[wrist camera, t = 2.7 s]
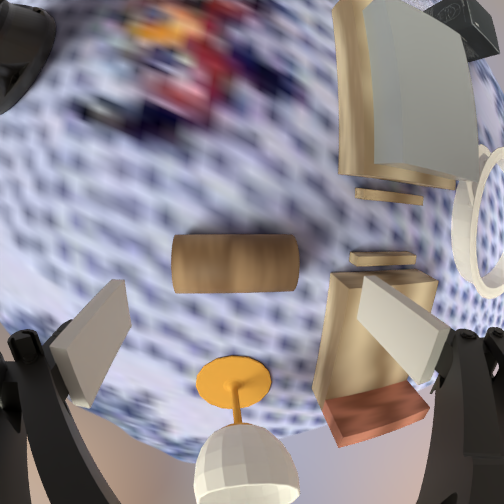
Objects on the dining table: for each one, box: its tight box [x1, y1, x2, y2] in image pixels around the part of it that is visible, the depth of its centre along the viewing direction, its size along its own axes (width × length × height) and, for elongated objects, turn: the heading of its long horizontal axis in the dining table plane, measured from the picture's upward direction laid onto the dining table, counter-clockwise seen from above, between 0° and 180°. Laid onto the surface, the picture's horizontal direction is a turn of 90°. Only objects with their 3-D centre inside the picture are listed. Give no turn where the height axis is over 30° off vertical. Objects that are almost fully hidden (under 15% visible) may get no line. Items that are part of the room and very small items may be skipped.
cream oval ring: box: [451, 144, 504, 299], centre depth 27 cm, size 29×22×5 cm
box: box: [423, 0, 500, 63], centre depth 16 cm, size 8×6×11 cm
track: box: [312, 0, 456, 448], centre depth 21 cm, size 12×46×10 cm, turn 179°
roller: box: [171, 234, 299, 293], centre depth 23 cm, size 10×5×5 cm, turn 89°
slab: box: [362, 0, 479, 183], centre depth 16 cm, size 10×16×4 cm, turn 179°
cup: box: [194, 356, 300, 504], centre depth 22 cm, size 9×9×16 cm
